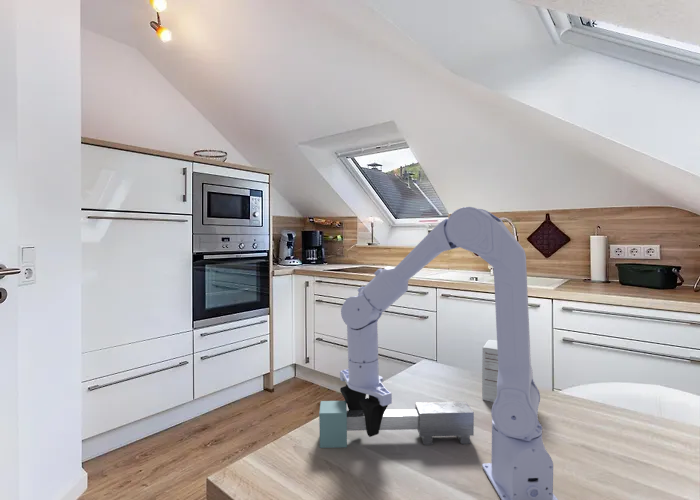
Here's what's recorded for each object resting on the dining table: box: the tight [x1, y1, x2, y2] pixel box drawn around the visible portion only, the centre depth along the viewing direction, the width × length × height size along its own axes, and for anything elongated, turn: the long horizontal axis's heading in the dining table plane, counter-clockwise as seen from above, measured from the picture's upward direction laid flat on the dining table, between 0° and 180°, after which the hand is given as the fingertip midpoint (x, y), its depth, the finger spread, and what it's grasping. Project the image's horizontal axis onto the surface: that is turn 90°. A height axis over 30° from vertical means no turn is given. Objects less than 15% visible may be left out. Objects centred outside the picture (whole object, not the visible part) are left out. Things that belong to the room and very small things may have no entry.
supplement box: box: [481, 339, 498, 403], centre depth 91 cm, size 7×7×13 cm
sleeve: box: [414, 401, 475, 446], centre depth 74 cm, size 4×10×6 cm, turn 91°
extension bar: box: [347, 408, 419, 432], centre depth 73 cm, size 3×17×3 cm, turn 91°
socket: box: [318, 400, 348, 449], centre depth 73 cm, size 5×5×6 cm
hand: (365, 428), depth 73 cm, fingers closed on extension bar, 5 cm apart
